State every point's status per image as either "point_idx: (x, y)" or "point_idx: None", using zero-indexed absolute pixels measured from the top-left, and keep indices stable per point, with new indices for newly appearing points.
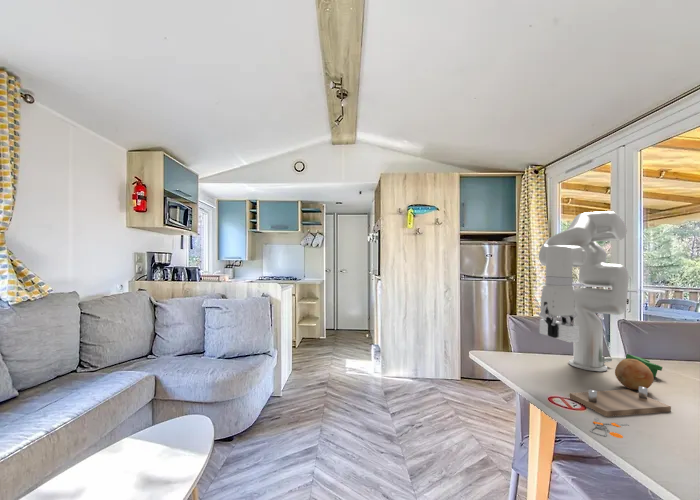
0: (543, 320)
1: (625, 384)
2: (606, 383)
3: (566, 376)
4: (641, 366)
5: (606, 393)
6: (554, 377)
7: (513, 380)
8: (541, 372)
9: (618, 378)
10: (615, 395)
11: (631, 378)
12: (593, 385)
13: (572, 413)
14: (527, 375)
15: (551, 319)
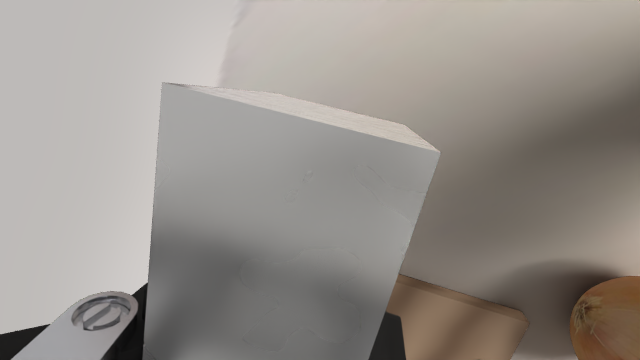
0: (161, 189)
1: (573, 309)
2: (585, 231)
3: (515, 109)
4: None
5: (401, 302)
6: (444, 97)
7: (239, 55)
8: (457, 23)
9: (588, 298)
10: (412, 322)
11: (581, 355)
12: (500, 219)
13: None
14: (349, 31)
15: (390, 229)
